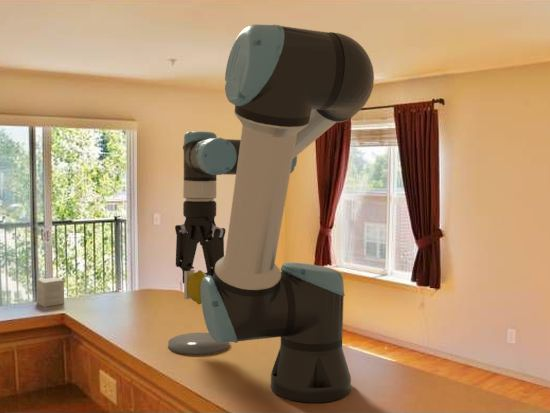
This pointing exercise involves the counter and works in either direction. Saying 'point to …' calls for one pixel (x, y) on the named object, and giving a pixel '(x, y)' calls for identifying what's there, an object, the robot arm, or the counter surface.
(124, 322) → the counter surface
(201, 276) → the lemon
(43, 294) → the product box
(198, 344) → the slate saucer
